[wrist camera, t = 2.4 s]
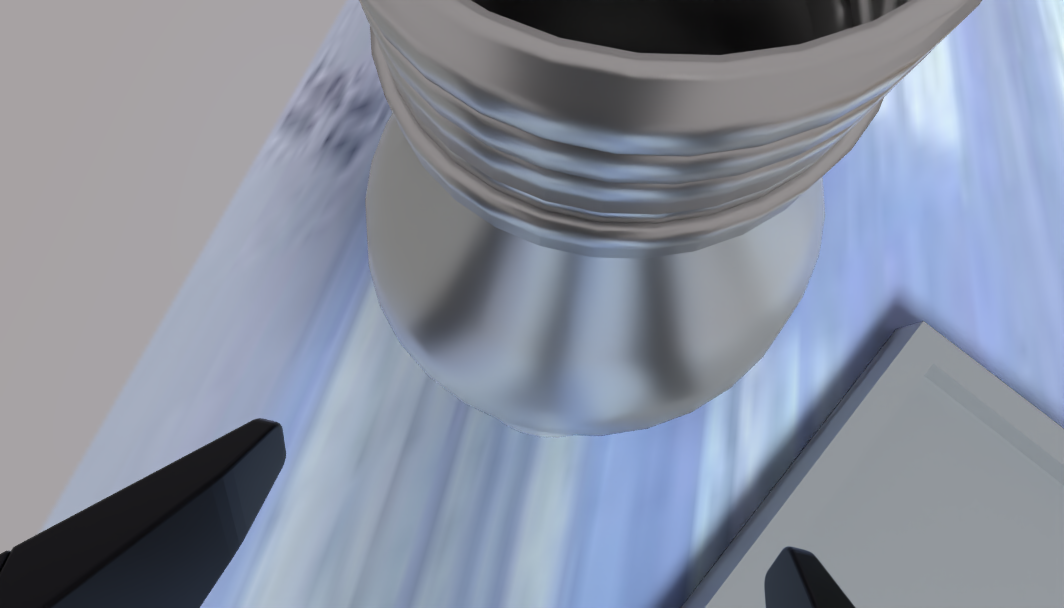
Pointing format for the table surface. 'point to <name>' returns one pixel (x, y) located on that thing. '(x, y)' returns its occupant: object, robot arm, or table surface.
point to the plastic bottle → (614, 188)
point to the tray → (915, 492)
